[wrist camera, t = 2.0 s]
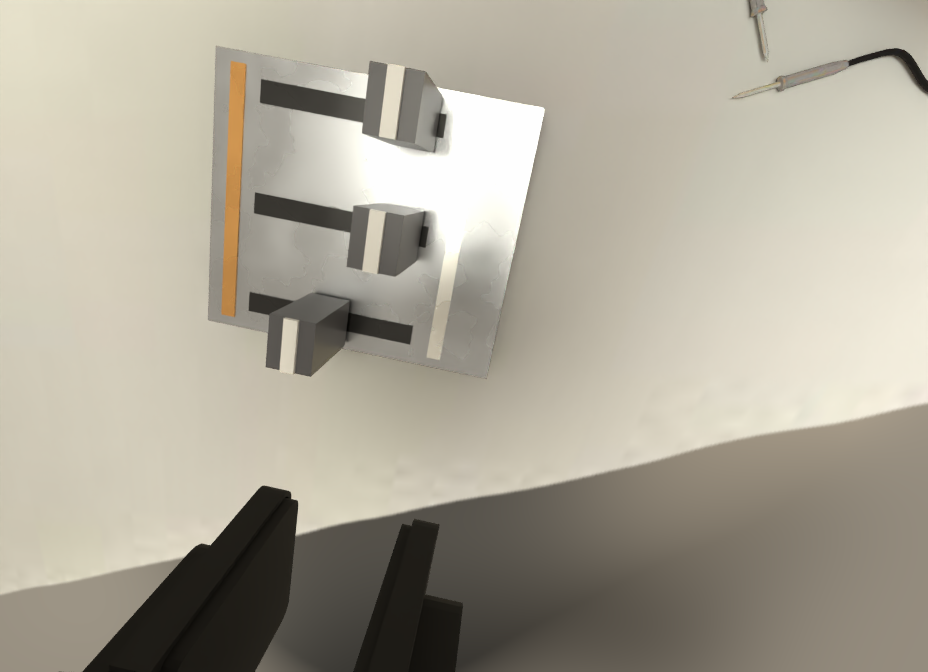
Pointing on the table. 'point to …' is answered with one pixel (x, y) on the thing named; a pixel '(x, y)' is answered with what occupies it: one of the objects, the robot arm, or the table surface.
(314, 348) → the breaker far
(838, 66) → the multimeter
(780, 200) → the table surface
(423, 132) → the block
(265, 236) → the panel
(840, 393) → the table surface
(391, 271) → the breaker mid
